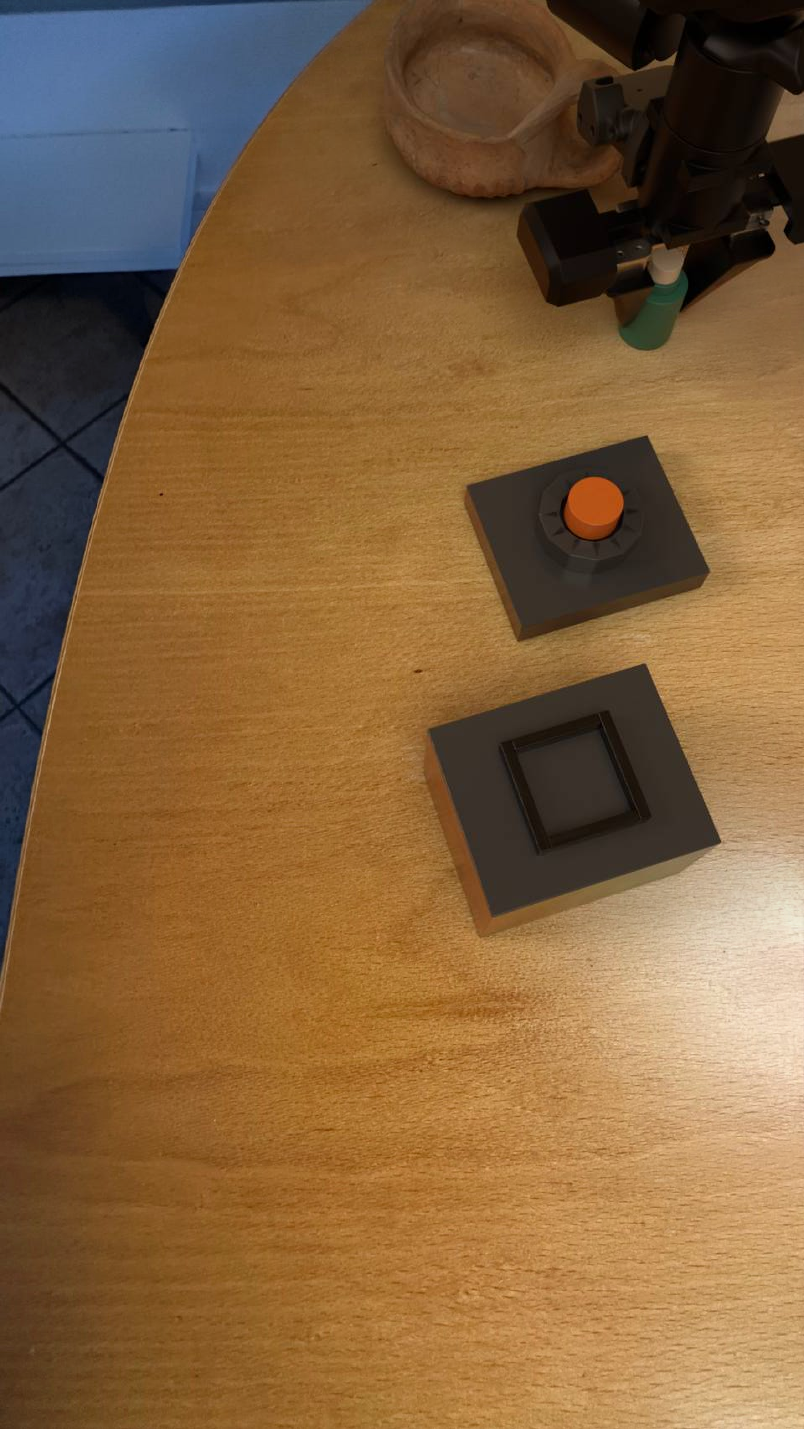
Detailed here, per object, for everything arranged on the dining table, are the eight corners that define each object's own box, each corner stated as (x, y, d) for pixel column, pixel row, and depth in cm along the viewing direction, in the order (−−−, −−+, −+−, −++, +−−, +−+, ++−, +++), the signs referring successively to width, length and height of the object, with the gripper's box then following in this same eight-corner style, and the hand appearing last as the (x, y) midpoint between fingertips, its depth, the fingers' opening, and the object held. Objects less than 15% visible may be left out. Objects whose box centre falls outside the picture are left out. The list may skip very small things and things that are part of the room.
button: (606, 486, 63) (611, 470, 62) (625, 531, 62) (632, 516, 61) (555, 500, 63) (560, 485, 61) (575, 546, 62) (580, 531, 60)
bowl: (646, 72, 77) (675, -31, 67) (610, 258, 77) (634, 181, 67) (406, 33, 78) (400, -75, 68) (369, 216, 77) (357, 134, 67)
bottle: (661, 302, 72) (686, 230, 66) (678, 345, 71) (704, 275, 65) (611, 312, 72) (631, 240, 66) (627, 355, 71) (649, 286, 65)
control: (639, 454, 68) (654, 417, 65) (700, 587, 65) (719, 557, 61) (464, 503, 67) (468, 469, 63) (517, 642, 64) (525, 614, 60)
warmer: (615, 712, 63) (650, 654, 54) (681, 872, 59) (728, 838, 51) (422, 772, 61) (427, 722, 53) (479, 938, 58) (493, 914, 50)
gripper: (814, -32, 59) (730, 191, 74) (498, 42, 57) (477, 255, 72) (904, 113, 55) (797, 316, 70) (571, 197, 53) (533, 388, 68)
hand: (649, 315), depth 70 cm, fingers closed on bottle, 4 cm apart
